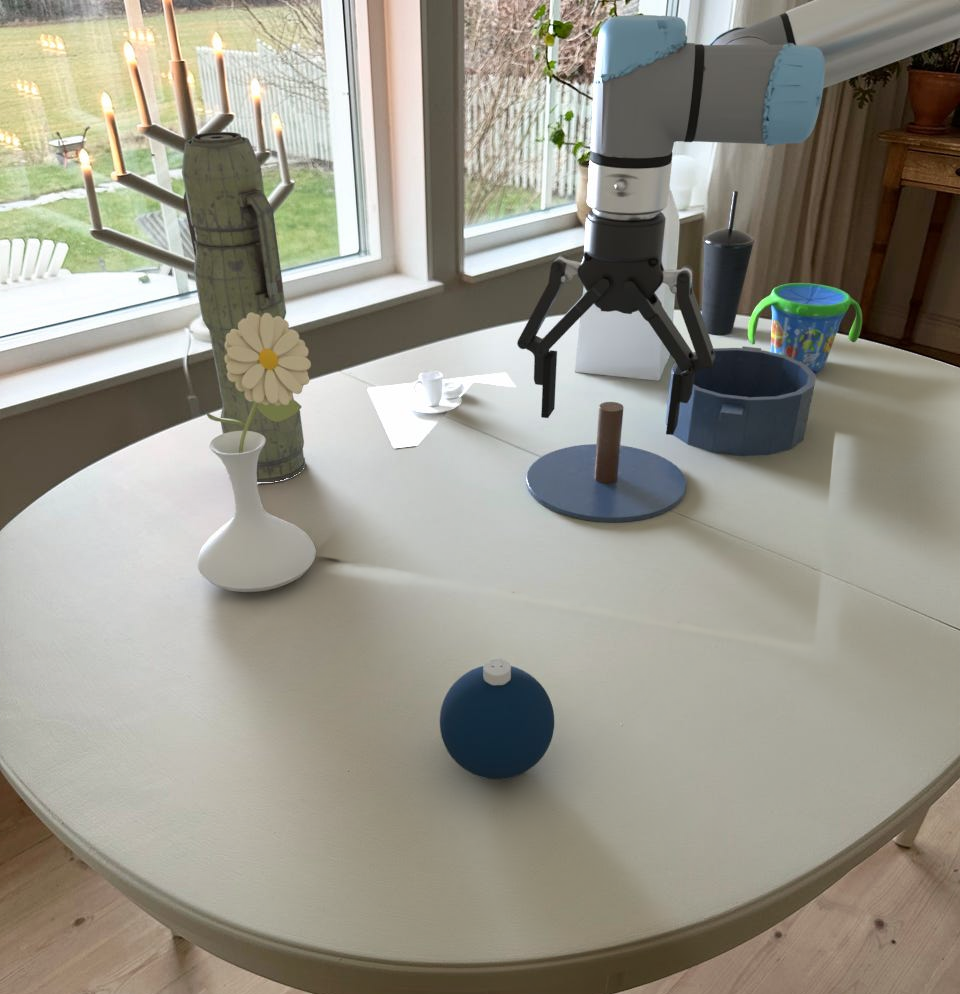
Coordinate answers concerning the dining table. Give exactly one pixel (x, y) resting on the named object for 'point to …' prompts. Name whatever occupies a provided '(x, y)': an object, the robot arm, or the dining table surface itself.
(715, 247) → the drinking cup
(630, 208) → the robot arm
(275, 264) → the thermos
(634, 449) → the lid
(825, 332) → the snack cup
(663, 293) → the milk
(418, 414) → the teacup and saucer
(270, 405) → the flower in vase
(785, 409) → the pot
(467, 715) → the christmas ornament
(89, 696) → the dining table surface
